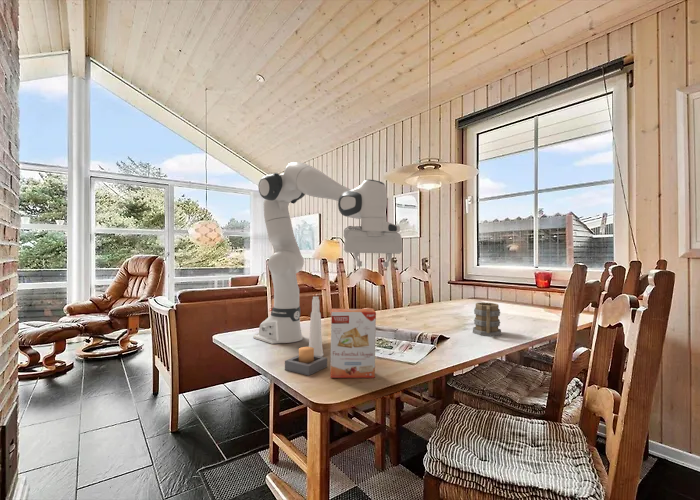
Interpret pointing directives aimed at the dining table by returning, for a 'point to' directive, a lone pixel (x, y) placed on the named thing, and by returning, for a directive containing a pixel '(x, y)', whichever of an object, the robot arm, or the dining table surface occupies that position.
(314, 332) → the cosmetic bottle
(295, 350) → the dining table surface
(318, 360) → the gray square tray
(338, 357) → the cracker box
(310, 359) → the button
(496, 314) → the tankard
